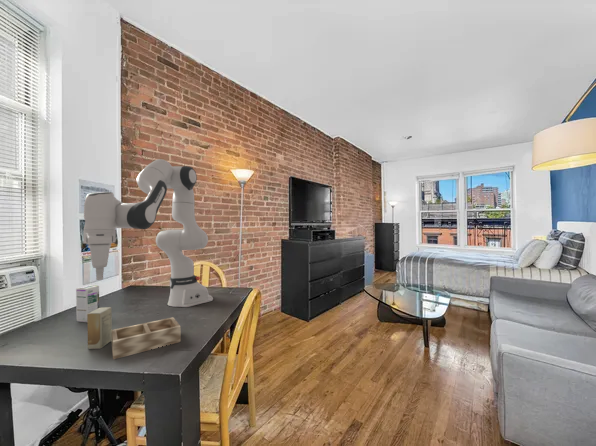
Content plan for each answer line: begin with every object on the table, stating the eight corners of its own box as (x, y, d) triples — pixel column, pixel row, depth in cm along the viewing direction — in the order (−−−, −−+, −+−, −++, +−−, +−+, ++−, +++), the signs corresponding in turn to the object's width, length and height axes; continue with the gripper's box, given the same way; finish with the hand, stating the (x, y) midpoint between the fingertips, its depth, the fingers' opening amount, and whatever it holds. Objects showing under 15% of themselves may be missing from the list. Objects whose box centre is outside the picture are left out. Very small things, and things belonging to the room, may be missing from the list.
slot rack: (173, 331, 101) (173, 317, 101) (180, 341, 92) (180, 326, 92) (111, 345, 89) (111, 329, 89) (113, 359, 80) (113, 341, 80)
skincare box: (99, 341, 93) (99, 306, 93) (112, 340, 93) (112, 306, 93) (86, 349, 86) (86, 313, 86) (100, 349, 87) (100, 312, 87)
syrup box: (87, 322, 110) (87, 288, 110) (75, 321, 111) (75, 287, 111) (99, 317, 115) (99, 285, 115) (89, 316, 117) (89, 284, 117)
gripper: (89, 237, 96) (88, 274, 96) (87, 239, 80) (86, 284, 80) (110, 236, 100) (109, 272, 100) (112, 238, 84) (112, 281, 84)
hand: (99, 277), depth 90 cm, fingers open, 8 cm apart
